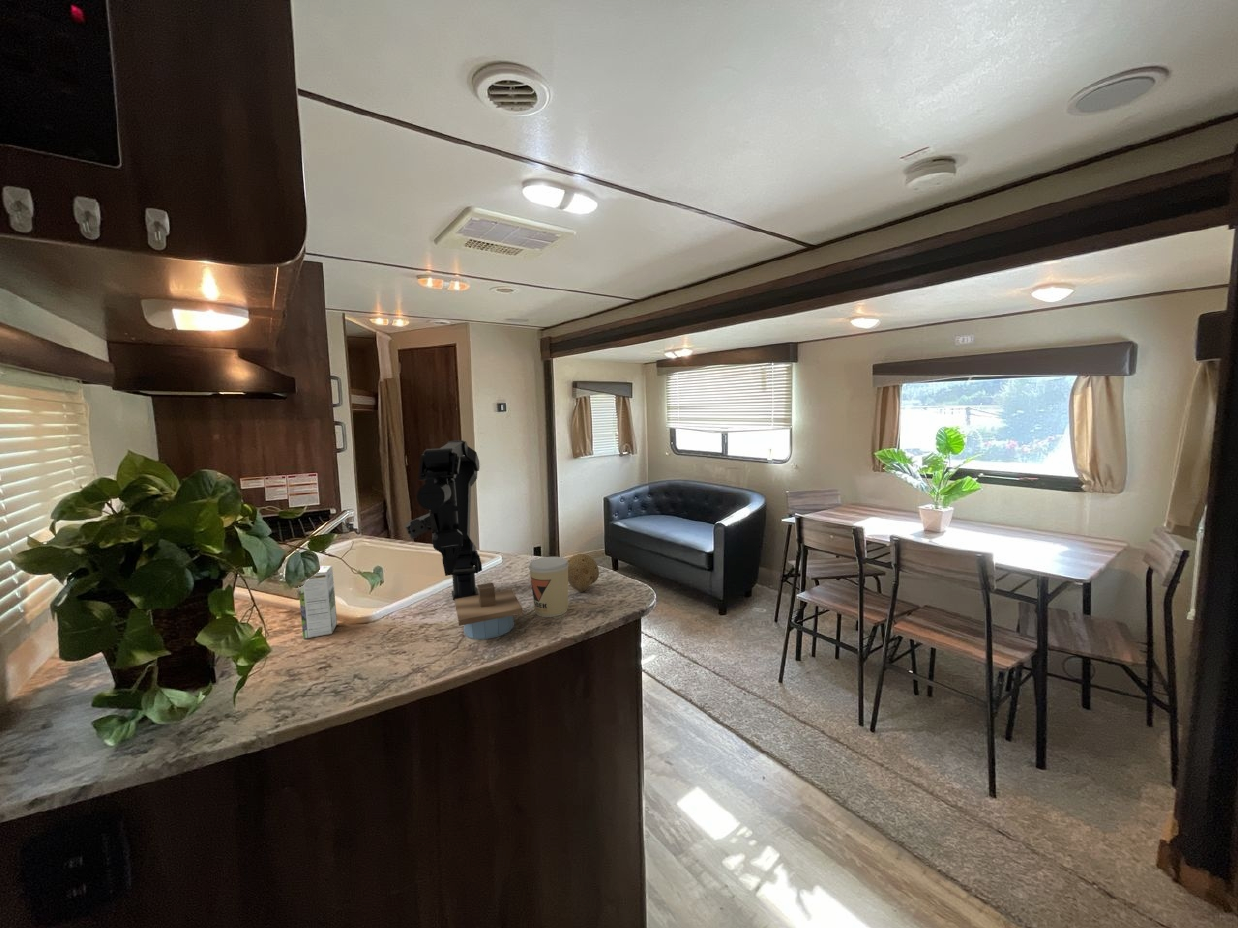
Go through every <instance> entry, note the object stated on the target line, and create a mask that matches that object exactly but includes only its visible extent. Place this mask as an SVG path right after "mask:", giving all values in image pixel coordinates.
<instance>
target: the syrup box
mask: <svg viewBox="0 0 1238 928" xmlns="http://www.w3.org/2000/svg"><path fill="white" fill-rule="evenodd" d="M319 566H320V570H319V572H318V573H317V574H316V575H314V576H313V577H312V578H310V579H309V580H308V581H307V582H306V583H305V584H304V585H303V586H301V587H299V586H298V597H299V606H300V607H299V608H300V609H299V610H300V617H301V619H300V620H301V629H302V639H311V638H317V637H323V636H328V635H333V633H334V631H335V628H336V627H337V625H338V617H337V606H336V595H335V594H336V593H335V583H334V571H333V570H334V569H333V565H319Z"/></svg>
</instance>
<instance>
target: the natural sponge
mask: <svg viewBox="0 0 1238 928" xmlns="http://www.w3.org/2000/svg"><path fill="white" fill-rule="evenodd" d="M567 562H568V564H569V565H568V585H570V586H571V587H572V588H573V589H574V590H575V591H577V592H580V593H583V592H584V591H586V590H587V589H588V588H589V587H590V586H591V585H592V584H594V583H595V582H596V581H597V580H598V579H599V576H600V569H599V566H598V564H597V562H596V560H595V559H594V558H593V557H591V556H590V555H588V554H585V553H577V554H575V555H573V556H571V557H570V558H569V559H568V560H567Z"/></svg>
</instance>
